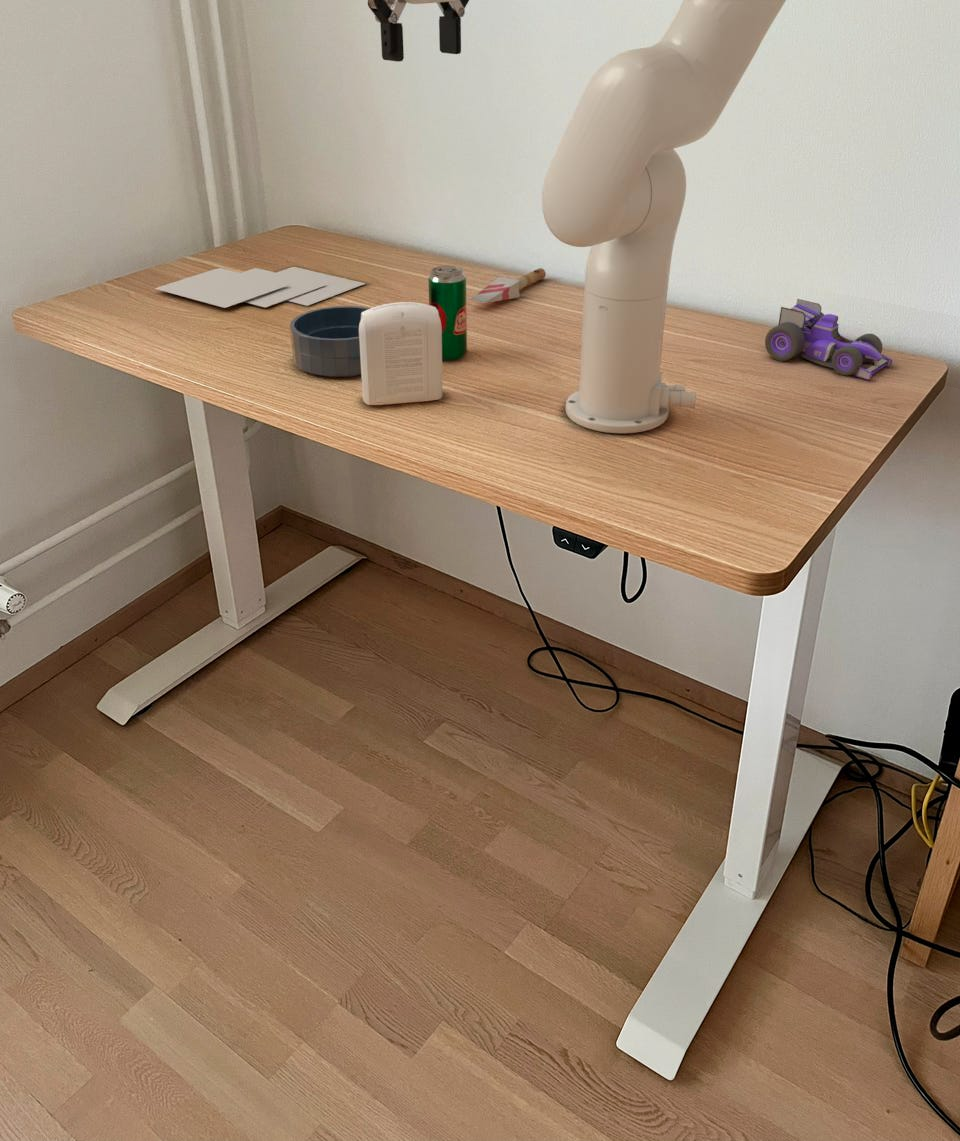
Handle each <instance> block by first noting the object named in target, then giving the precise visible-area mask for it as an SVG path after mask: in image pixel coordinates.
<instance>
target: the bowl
mask: <svg viewBox="0 0 960 1141" xmlns="http://www.w3.org/2000/svg"><path fill="white" fill-rule="evenodd" d="M371 308H372V307H367V306H366V307H365V306H357V305H339V306H336V305H335V306H328V307H327V306H326V307H320V308H316V309H311V310H308V311H306V312H303V313H301V314H299V315H296V316H295V317H293V319H292V320H291V321H290V322H289V331H290V342H291V350H292V360H293V364H294V365H295V366H296V367H297V368H298V369H300V370H302V371H303V372H307V373H309V374H312V375H317V376H321V377H330V378H348V377H357V376H361V359H360V341H359V324H360V321H361V313H362V312H364V311H366V310H368V309H371Z"/></svg>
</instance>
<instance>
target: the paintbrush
mask: <svg viewBox="0 0 960 1141" xmlns="http://www.w3.org/2000/svg"><path fill="white" fill-rule="evenodd" d="M546 276H547V273H546V270H545V269H544V268H541V267H539V268H536V269H534V270H533V271H530V272H527V273H525V274H523V275H520V276H518V277H515V278H511V277H505V276H502V275H501V276H499V277H497V278H496V279H495V280H494V281H492V282H490V283H489V284H488V285H487V286H486V287H484V288H483V289H482V290H480V291H479V292H478V293H476V294H475V295H474V296H472V297H471V298H470V299H469V301H474V302H479V303H483V304H486V303H493V302H499V301H505V300H512V299H517V298H521V294H520V290H521V289H523V288H525V287H528V286H531V285H532V284H534V283H537V282H538V281H541V280H543V279H545V278H546Z"/></svg>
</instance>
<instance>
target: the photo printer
mask: <svg viewBox="0 0 960 1141" xmlns="http://www.w3.org/2000/svg"><path fill="white" fill-rule="evenodd" d="M370 308H371V309H368V310H366V311H364V312H362V313H361V321H360V324H359V341H360V359H361V375H360V376H361V391H362V392H361V393H362V402H364V404H366V405H368V406H383V405H384V406H385V405H395V404H407V403H418V402H429V401H437V400H438V401H439V400H441V399H442V398H443V361H442V327H441V321H440V317H439V313H438V310H437V309H436V307H433V306H430V305H429V304H426V303H421V302H413V301H398V302H397V301H396V302H390V303H385V304H380V305H377V306H374V307H370Z"/></svg>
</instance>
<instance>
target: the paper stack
mask: <svg viewBox="0 0 960 1141" xmlns="http://www.w3.org/2000/svg"><path fill="white" fill-rule="evenodd" d="M364 285H366V282H361V281H356V280H352V279H350V278H349V279H348V278H344V277H339V276H335V275H333V274H327V273H323V272H319V271H315V270H310V269H305V268H301V267H297V266H291V267H288V268H285V269H282V270H279V271H276V272H275V271H271V270H266V269H262V268H257V267H254V268H251V269H248V270H245V271H242V272H241V271H240V272H239V271H234V270H230V269H226V268H222V267H218V268H214V269H211V270H208V271H205V272H202V273H199V274H195V275H192V276H189V277H186V278H183V279H179V280H176V281H174V282H169V283H167V284H164V285H160V286H157V287H155V288H154V290H156V291H157V290H158V291H161V292H166V293H169V294H172V295H177V296H180V297H184V298H187V299H191V300H194V301H197V302H201V303H205V304H208V305H213V306H216V307H220V308H223V309H226V308H229V307H232V306H235V305H238V304H240V303H246V304H250V305H254V306H258V307H262V308H265V309H266V308H269V307H271V306H274V305H276V304H279V303H282V302H291V303H295V304H298V305H301V306H306V307H308V306H311V305H313V304H314V305H315V303H318V302H319V303H320V302H321V301H324V300H326V299H329V298H332V297H335V296H338V295H340V294H342V293H345V292H348V291H350V290H353V289H355V288H358V287H361V286H364Z"/></svg>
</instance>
